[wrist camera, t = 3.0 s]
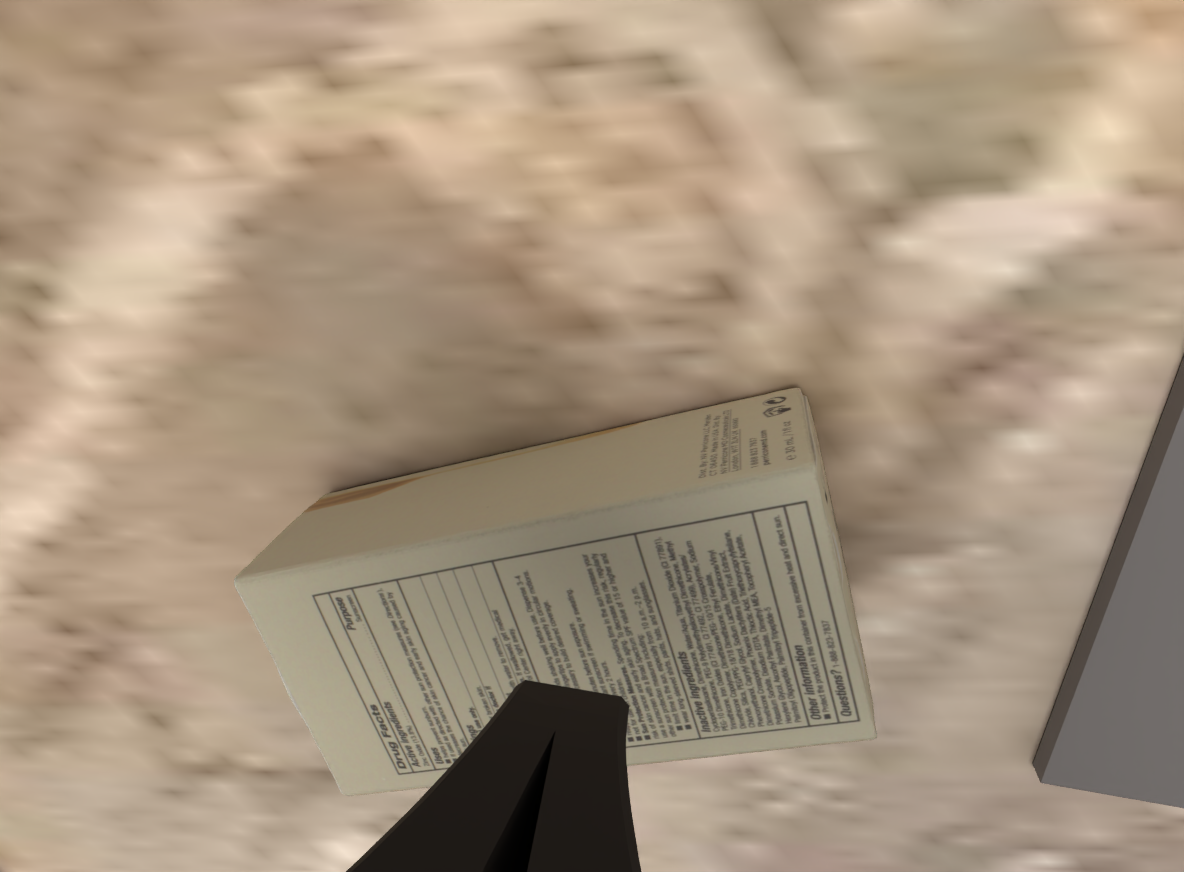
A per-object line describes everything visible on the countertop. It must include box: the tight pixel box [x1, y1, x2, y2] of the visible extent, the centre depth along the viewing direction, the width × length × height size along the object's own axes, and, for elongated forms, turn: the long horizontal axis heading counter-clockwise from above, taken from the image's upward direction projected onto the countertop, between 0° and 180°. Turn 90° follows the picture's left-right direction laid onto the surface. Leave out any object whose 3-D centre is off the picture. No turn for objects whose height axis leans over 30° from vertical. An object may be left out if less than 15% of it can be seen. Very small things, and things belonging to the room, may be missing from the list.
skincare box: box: [234, 388, 877, 796], centre depth 18 cm, size 6×4×12 cm
